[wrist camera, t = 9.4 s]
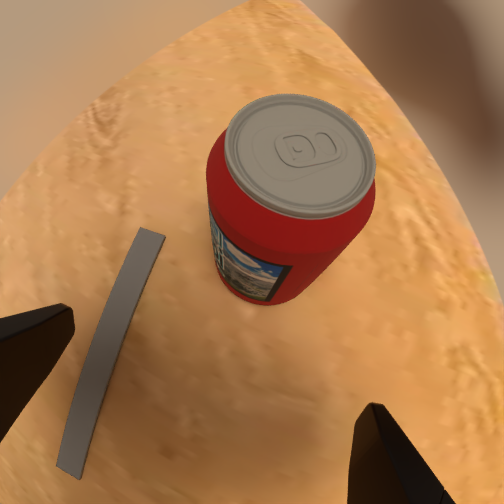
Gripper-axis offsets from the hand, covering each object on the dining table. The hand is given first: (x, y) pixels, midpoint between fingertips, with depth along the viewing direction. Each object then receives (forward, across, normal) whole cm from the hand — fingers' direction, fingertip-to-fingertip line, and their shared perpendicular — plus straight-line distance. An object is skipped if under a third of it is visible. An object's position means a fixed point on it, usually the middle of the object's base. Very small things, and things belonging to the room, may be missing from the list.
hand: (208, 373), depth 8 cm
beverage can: (+14, 0, +2) cm, 14 cm away
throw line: (+6, +8, +9) cm, 14 cm away
